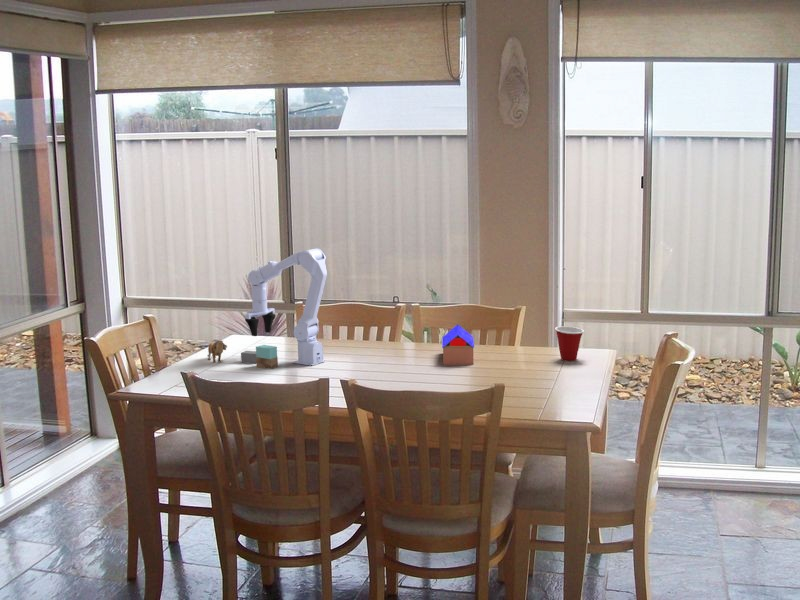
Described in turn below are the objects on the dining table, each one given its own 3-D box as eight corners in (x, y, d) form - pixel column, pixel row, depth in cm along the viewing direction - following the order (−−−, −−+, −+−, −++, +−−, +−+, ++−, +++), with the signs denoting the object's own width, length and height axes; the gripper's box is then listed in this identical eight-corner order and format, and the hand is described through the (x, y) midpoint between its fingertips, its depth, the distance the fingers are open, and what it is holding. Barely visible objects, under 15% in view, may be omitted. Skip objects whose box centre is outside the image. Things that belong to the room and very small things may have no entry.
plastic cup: (581, 363, 333) (582, 331, 331) (552, 361, 336) (552, 330, 334) (585, 356, 343) (585, 326, 341) (557, 355, 346) (557, 325, 344)
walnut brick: (277, 366, 340) (277, 356, 339) (271, 369, 336) (271, 358, 336) (263, 365, 343) (262, 355, 342) (256, 367, 340) (256, 357, 339)
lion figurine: (229, 362, 348) (228, 340, 346) (216, 365, 345) (215, 342, 343) (213, 356, 359) (212, 334, 358) (201, 358, 356) (199, 336, 355)
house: (442, 365, 336) (441, 335, 334) (443, 353, 356) (442, 324, 354) (474, 365, 335) (474, 334, 334) (473, 353, 355) (472, 324, 353)
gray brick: (262, 361, 349) (261, 351, 348) (257, 364, 345) (256, 353, 345) (246, 360, 352) (246, 350, 351) (241, 362, 348) (240, 352, 347)
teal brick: (277, 357, 339) (276, 346, 338) (269, 359, 335) (269, 348, 335) (263, 354, 343) (263, 344, 342) (256, 357, 339) (255, 346, 339)
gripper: (264, 296, 357) (266, 329, 360) (238, 302, 346) (240, 336, 348) (278, 297, 353) (279, 331, 356) (252, 303, 342) (253, 338, 344)
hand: (261, 334), depth 352 cm, fingers open, 7 cm apart
